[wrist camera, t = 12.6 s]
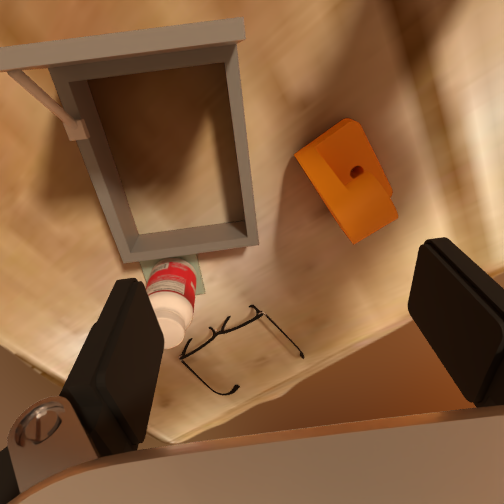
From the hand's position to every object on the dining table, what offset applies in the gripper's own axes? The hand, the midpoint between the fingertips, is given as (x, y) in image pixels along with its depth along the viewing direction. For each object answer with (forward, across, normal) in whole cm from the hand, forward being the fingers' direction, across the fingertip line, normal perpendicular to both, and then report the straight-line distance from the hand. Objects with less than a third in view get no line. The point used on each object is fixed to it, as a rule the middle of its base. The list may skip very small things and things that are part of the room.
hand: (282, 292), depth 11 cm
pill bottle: (+28, +12, +18) cm, 35 cm away
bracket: (+29, -11, +7) cm, 32 cm away
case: (+28, +8, +3) cm, 30 cm away
